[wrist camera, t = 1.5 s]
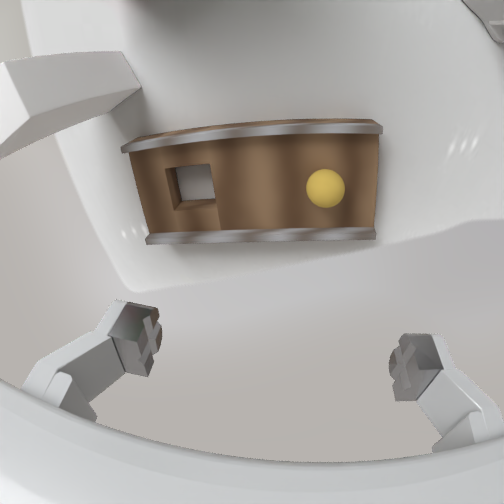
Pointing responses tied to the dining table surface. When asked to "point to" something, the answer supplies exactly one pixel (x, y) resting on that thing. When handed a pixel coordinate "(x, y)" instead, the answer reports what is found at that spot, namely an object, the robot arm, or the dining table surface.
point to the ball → (325, 188)
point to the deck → (259, 181)
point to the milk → (58, 93)
